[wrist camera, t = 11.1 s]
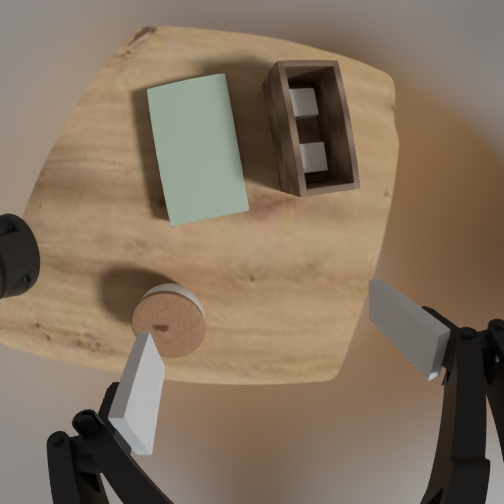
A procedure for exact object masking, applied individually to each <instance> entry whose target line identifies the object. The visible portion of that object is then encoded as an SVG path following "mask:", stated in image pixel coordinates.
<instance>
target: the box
mask: <svg viewBox="0 0 504 504" xmlns="http://www.w3.org/2000/svg"><path fill="white" fill-rule="evenodd" d="M262 85H263V90H264V95H265V100H266V106H267V111H268V116H269V122H270V127H271V133H272V139H273V144H274V150H275V156H276V162H277V168H278V174H279V181H280V187H281V192H285V193H288V194H292V195H295V196H298V197H307V196H313V195H319V194H326V193H332V192H339V191H346V190H353V189H360V182H359V173H358V166H357V158H356V151H355V144H354V138H353V132H352V126H351V120H350V115H349V110H348V105H347V100H346V95H345V90H344V86H343V81H342V77H341V73H340V69H339V65H338V61H331V60H288V61H276V63H275V64H274V66H273V68H272V69H271V71H270V73H269V74H268V76H267V78H266V79H265V81H264V83H263V84H262ZM303 88H313V89H314V93H315V98H316V103H317V108H318V113H319V115H317V116H315V117H313V118H311V119H304V120H295V116H294V110H293V105H292V100H291V95H290V90H289V89H303ZM317 142H324V148H325V154H326V161H327V168H328V170H324V171H316V172H309V173H304V169H303V162H302V156H301V150H300V144H307V143H317Z"/></svg>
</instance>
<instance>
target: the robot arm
mask: <svg viewBox="0 0 504 504" xmlns="http://www.w3.org/2000/svg"><path fill="white" fill-rule="evenodd" d="M39 270H40V256H39V250H38V246H37V242H36V240H35V237H34V235H33V233H32V231H31V229H30V228H29V226H28V225H27V224H26V223H25V222H24V221H23V220H22V219H21V218H20V217H18V216H16V215H13V214H3V215H0V299H1V298H6V297H12V296H18V295H21V294H23V293H25V292H26V291H28V290H29V289H30V288H31V287H32V286H33V285H34V284H35V282H36V280H37V278H38V275H39ZM369 319H370V321H371V322H372V323H373V324H374V325H375V326H376V327H377V328H378V329H379V330H380V331H381V332H382V333H383V334H384V335H385V336H386V337H387V338H388V339H389V340H390V341H391V342H392V343H393V344H394V345H395V346H396V347H397V348H398V349H399V350H400V351H401V352H402V354H404V356H405V357H406V358H407V359H408V360H409V361H410V362H411V363H412V364H413V365H414V366H415V367H416V368H417V369H418V370H419V371H420V372H421V373H422V374H423V376H424V377H425V378H426V379H427V380H428V381H429V380H431V379H433V378H434V377H436V376H438V375H439V374H440V371H441V368H442V366H444V367H445V368H446V373H445V376H444V380H443V382H442V385H444V397H443V407H442V416H441V424H440V431H439V437H438V443H437V448H436V454H435V458H434V463H433V468H432V472H431V476H430V480H429V484H428V487H427V490H426V492H425V494H424V496H423V499H422V501H421V503H420V504H485V501H486V495H487V489H488V483H489V475H490V461H489V460H488V459H486V458H485V449H486V395H487V398H488V401H489V405H490V408H491V411H492V414H493V418H494V422H495V425H496V429H497V433H498V437H499V442H500V446H501V451H502V456H503V461H504V321H503V320H501V319H494V320H491V321H490V322H489V324H488V328H487V330H483V331H479V332H477V331H476V330H475V329H473V328H470V327H463V328H458V327H457V326H456V325H454V324H453V323H452V322H450V321H449V320H448V319H446V318H445V317H443V316H442V315H441V314H439V313H438V312H436V311H435V310H434V309H432V308H429V307H426V306H423V307H420V306H418V305H417V304H416V303H414V302H413V301H411V300H410V299H409V298H407V297H406V296H405V295H403V294H402V293H400V292H399V291H398V290H396V289H395V288H393V287H392V286H391V285H389V284H388V283H386V282H385V281H383V280H382V279H380V278H376V279H373V280H370V281H369ZM164 374H165V366H164V364H163V362H162V360H161V357H160V355H159V353H158V350H157V348H156V346H155V343H154V341H153V339H152V336H151V334H150V332H146V333H140V334H138V335H137V337H136V340H135V342H134V345H133V348H132V350H131V353H130V355H129V358H128V361H127V363H126V366H125V369H124V371H123V374H122V377H121V380H120V382H113V383H112V384H111V385H110V386H109V388H108V389H107V391H106V393H105V398H104V399H103V402H102V404H101V407H100V410H99V412H98V415H97V413H96V412H95V411H94V410H90V409H88V410H83V411H80V412H79V413H78V414H76V415H75V417H74V418H73V421H72V426H73V428H74V429H75V430H76V431H77V432H78V434H79V435H78V436H74V437H69V436H68V435H67V434H66V433H65V432H63V431H57V432H55V433H53V434H52V435H51V436H49V438H48V440H47V458H48V468H49V478H50V486H51V493H52V499H53V504H109V501H108V498H107V495H106V492H105V489H104V486H103V483H102V480H101V477H100V473H103V475H104V476H105V478H106V479H107V481H108V482H109V484H110V485H111V487H112V488H113V490H114V491H115V493H116V494H117V495H118V497H119V498H120V499H121V501H122V502H123V503H124V504H174V503H173V502H172V501H171V500H170V499H169V498H168V497H167V496H166V495H165V494H164V493H163V492H162V491H161V490H160V489H159V488H158V487H157V486H156V485H155V483H154V482H153V481H152V480H151V479H150V478H149V477H148V476H147V474H146V473H145V472H144V471H143V470H142V469H141V467H140V466H139V465H138V464H137V463H136V461H135V460H134V459H133V458H132V457H131V455H130V452H131V448H132V450H133V451H134V452H135V453H136V454H137V455H152V449H153V442H154V435H155V428H156V421H157V415H158V408H159V402H160V396H161V390H162V385H163V379H164Z"/></svg>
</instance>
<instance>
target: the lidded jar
mask: <svg viewBox="0 0 504 504" xmlns="http://www.w3.org/2000/svg"><path fill="white" fill-rule="evenodd" d="M131 321H132V329H133V332H134V335H135V336H136V337H137V335H138V334H140V333H146V332H150V334H151V336H152V339H153V341H154V343H155V346H156V348H157V350H158V353H159V355H160V356H163V357H169V358H177V357H182V356H186V355H188V354H190V353H192V352H193V351H195V350H196V349H197V348H198V347H199V346H200V345H201V343H202V341H203V339H204V336H205V330H206V327H205V317H204V312H203V308H202V305H201V303H200V301H199V300H198V298H197V297H196V295H195V294H194V293H193V292H191V291H190V290H189V289H187V288H186V287H184V286H181V285H178V284H173V283H166V284H160V285H157V286H155V287H153V288H152V289H150V290H149V291H148V292H147V293H146V294H145V295H144V296H143V297H142V298H141V300H140V301H139V302H138V304H137V305H136V307H135V309H134V311H133V314H132V319H131Z"/></svg>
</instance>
